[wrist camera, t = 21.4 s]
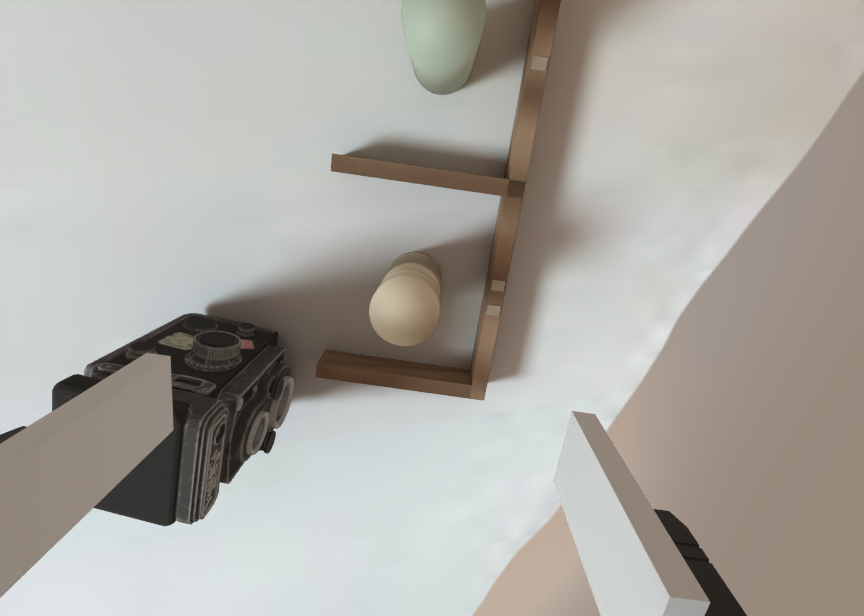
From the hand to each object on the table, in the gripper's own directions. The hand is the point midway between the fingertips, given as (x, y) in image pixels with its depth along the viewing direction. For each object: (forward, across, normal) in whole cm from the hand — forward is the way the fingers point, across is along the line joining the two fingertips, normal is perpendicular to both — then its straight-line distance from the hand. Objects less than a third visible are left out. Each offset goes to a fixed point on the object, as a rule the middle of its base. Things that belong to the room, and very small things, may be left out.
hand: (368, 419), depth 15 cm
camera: (+24, -14, -11) cm, 29 cm away
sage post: (+24, 0, +16) cm, 28 cm away
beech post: (+24, 0, -1) cm, 24 cm away
